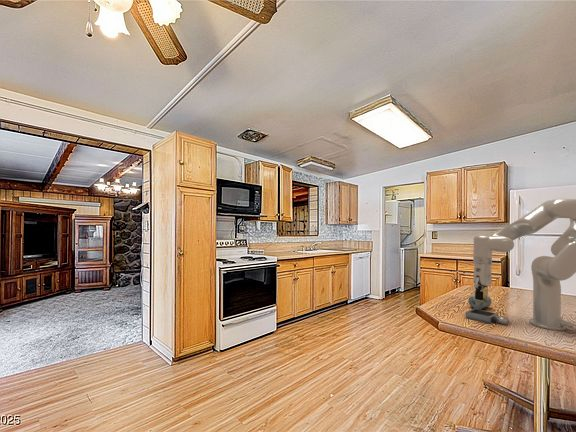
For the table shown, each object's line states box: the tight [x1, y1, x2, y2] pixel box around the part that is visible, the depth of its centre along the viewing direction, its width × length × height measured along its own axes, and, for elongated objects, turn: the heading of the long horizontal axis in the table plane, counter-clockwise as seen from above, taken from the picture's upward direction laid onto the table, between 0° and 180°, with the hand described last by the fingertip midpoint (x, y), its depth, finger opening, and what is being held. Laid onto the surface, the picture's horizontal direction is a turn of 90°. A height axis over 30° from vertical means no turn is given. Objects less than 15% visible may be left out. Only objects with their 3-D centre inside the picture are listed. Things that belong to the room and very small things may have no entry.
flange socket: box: [465, 308, 510, 326], centre depth 139 cm, size 16×10×3 cm
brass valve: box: [475, 284, 489, 302], centre depth 142 cm, size 5×5×8 cm
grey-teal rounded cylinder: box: [467, 293, 492, 310], centre depth 160 cm, size 14×10×10 cm
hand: (481, 298), depth 141 cm, fingers closed on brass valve, 5 cm apart
